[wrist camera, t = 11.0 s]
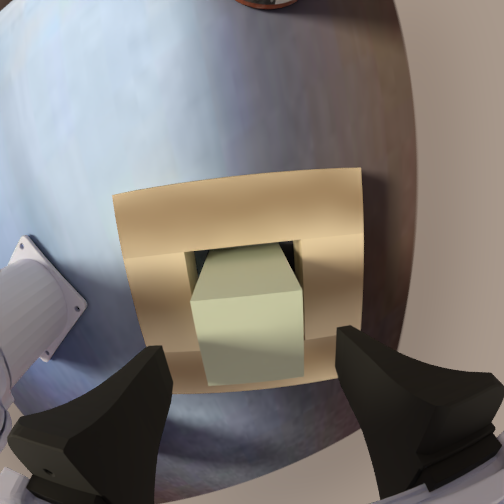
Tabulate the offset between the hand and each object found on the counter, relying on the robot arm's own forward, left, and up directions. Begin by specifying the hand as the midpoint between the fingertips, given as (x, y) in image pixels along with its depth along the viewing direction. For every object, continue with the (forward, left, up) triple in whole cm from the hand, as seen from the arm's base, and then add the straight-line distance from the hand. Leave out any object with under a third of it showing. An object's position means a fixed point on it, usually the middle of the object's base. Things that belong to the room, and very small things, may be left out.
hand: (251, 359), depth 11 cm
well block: (0, 0, -9) cm, 9 cm away
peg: (0, 0, -9) cm, 9 cm away
